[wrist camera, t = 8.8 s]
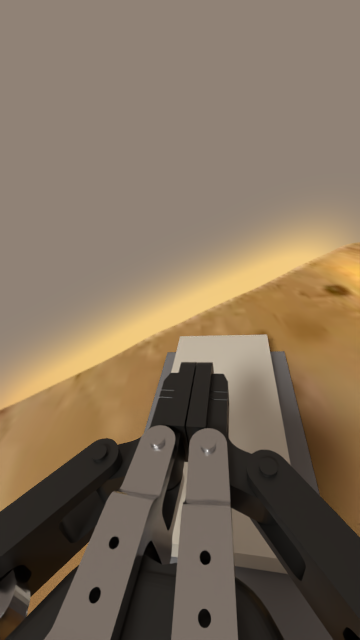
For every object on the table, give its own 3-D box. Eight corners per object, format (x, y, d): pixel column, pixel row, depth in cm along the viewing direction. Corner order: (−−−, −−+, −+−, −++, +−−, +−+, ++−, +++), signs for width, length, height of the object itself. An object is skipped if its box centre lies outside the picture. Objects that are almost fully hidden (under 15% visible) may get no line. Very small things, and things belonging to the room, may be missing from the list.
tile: (308, 562, 14) (266, 334, 31) (129, 537, 16) (180, 336, 33) (303, 578, 16) (266, 351, 32) (138, 552, 18) (183, 352, 34)
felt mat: (168, 354, 35) (167, 352, 34) (284, 354, 32) (284, 351, 32) (68, 703, 13) (65, 702, 13) (391, 796, 10) (394, 797, 10)
